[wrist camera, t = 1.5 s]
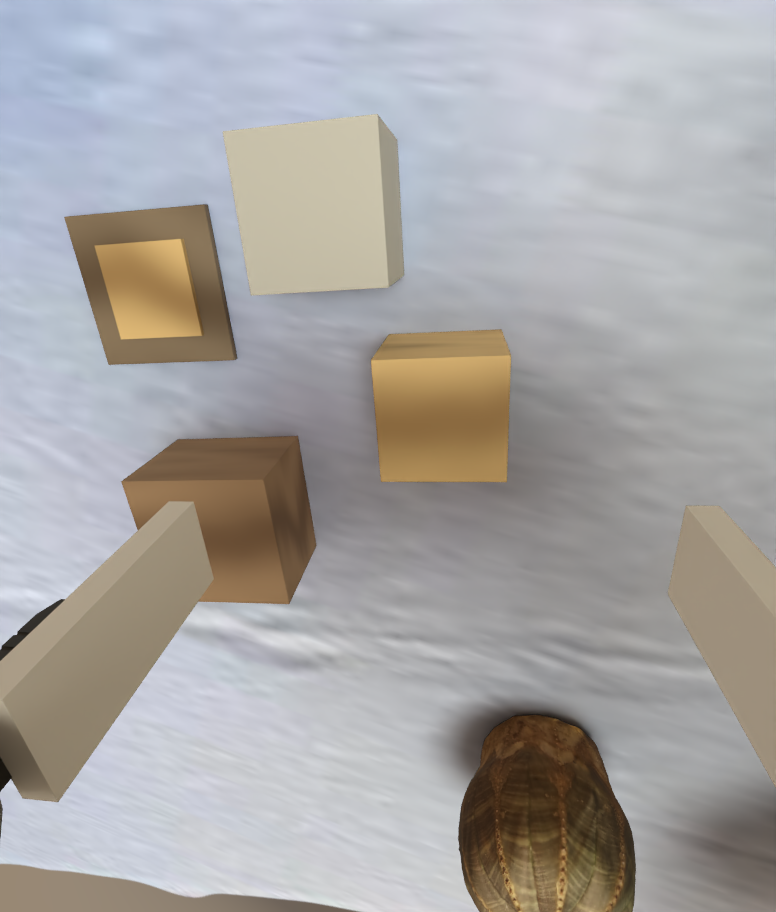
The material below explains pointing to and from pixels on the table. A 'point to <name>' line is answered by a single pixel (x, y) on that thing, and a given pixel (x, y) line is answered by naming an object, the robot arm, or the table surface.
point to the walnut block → (236, 511)
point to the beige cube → (318, 205)
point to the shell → (544, 824)
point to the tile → (154, 284)
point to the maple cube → (442, 406)
